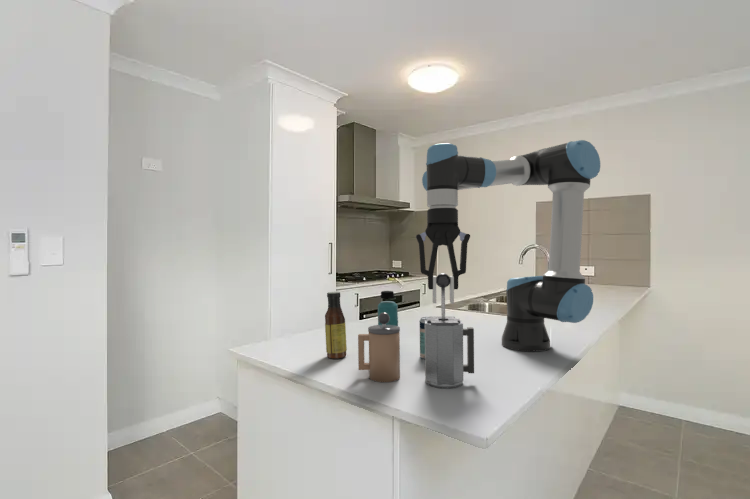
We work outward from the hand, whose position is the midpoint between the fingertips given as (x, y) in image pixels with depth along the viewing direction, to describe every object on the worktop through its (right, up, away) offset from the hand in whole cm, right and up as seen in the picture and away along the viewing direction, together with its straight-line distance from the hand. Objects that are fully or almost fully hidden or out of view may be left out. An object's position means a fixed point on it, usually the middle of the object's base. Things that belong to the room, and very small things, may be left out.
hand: (443, 302), depth 100 cm
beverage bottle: (-13, -20, +25) cm, 34 cm away
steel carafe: (+2, -20, 0) cm, 20 cm away
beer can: (-1, -20, +22) cm, 29 cm away
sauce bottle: (-29, -20, +24) cm, 42 cm away
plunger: (0, -12, 0) cm, 12 cm away
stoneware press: (-16, -20, +5) cm, 26 cm away
